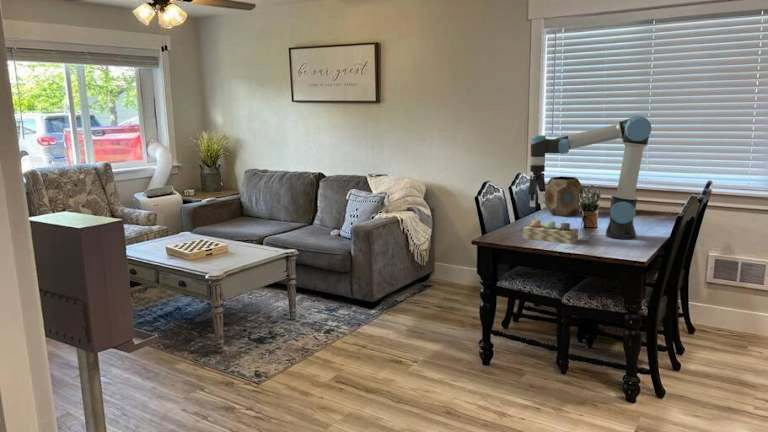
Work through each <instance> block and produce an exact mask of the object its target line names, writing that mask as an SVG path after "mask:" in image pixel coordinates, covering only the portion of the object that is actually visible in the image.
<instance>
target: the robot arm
mask: <svg viewBox="0 0 768 432" xmlns="http://www.w3.org/2000/svg"><path fill="white" fill-rule="evenodd" d="M651 133H652V124H651V122H650V120H649V119H648V118H647V117H644V116H640V115H635V116H631V117H630V118H627V119H625V120H620V121H617V123H616V124H612V125H609V126H603V127H599V128H595V129H590V130H586V131H582V132H578V133H574V134H573V133H572V134H569V135H565V136H558V137H556V138H553V139H551V138H550V139H549V138H546V135H542V134H538V135H532V136H531V138H530V140H531V141H530V158H529V160H530V166H529V169H530V170H529V172H531V173H532V175H531V174H530V177H529V186H528V190H527V191H528V193H527V194H528V195H529V207H530V208H531V207H532V208H535V207H536V194H535V193H536V190H537V188H538V193H537V198H538V199H537V202H538V204H544V203H543V197H544V195H545V191H546V190H545V187H546V182H545V173H544V172H545V171H546V165H545V164H546V154H561V155H562V154H568V153H569V152H570V150H572V149H577V148H582V147H586V146H587V147H588V146H591V145H596V144H601V143H605V142H608V141H614V140H618V139H620V140H622V143H623V145H624V151H623V156H622V163H621V168H620V174H619V178H618V185H617V188H616V189H617V190H616V192H615V193H613V194H612V195H611V196H610V208H609V221H608V225H607V228H606V230H605V237H608V238H610V239H616V240H632V239H633V240H634V239H636V237H637V235H636V234H637V232H636V229H635V226H634V218H636V217H635V216H636V215H637V211H636V207H637V202H638V197H637V195H636V190H637V185H638V179H639V173H640V168H641V162H642V158H643V152H644V148H645V147H647V146H648V143H649V138H650V135H651ZM544 198H545V197H544ZM635 211H636V212H635Z"/></svg>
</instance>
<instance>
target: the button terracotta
mask: <svg viewBox="0 0 768 432" xmlns="http://www.w3.org/2000/svg"><path fill="white" fill-rule="evenodd" d="M541 222H542V221H541V220H539V219H533V220H531V224H532V227H534V228H540V227H541V225H542V223H541Z"/></svg>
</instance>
